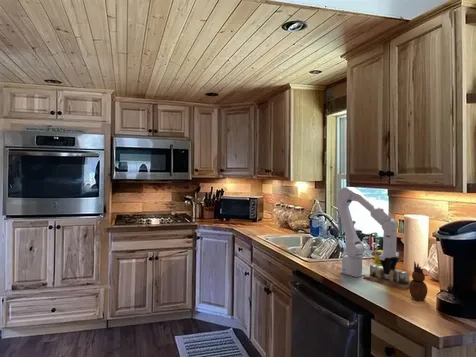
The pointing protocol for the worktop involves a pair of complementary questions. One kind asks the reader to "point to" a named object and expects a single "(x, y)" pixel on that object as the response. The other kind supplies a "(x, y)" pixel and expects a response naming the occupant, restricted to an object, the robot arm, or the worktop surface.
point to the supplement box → (377, 253)
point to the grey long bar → (398, 275)
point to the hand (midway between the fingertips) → (388, 273)
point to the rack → (386, 280)
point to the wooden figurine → (418, 284)
